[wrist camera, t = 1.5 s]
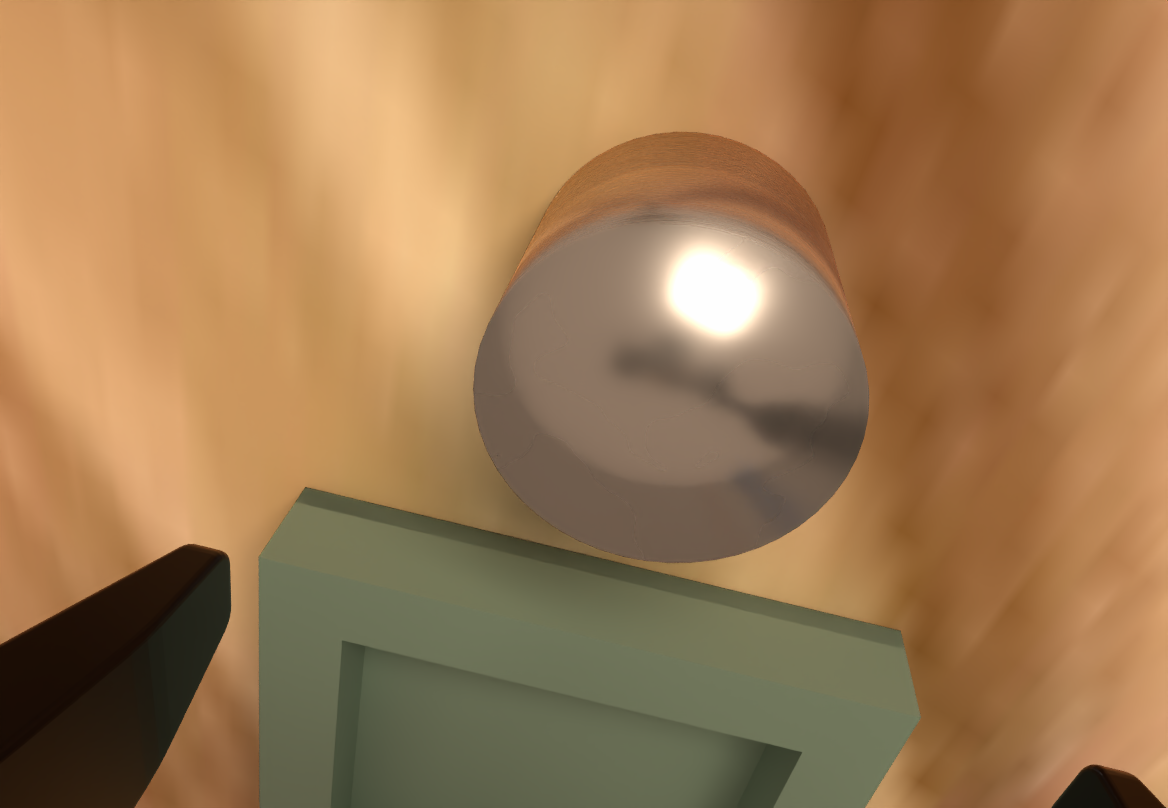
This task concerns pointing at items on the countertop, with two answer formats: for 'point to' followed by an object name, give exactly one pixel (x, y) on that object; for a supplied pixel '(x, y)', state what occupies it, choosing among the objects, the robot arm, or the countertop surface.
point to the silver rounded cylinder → (674, 356)
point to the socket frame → (550, 678)
